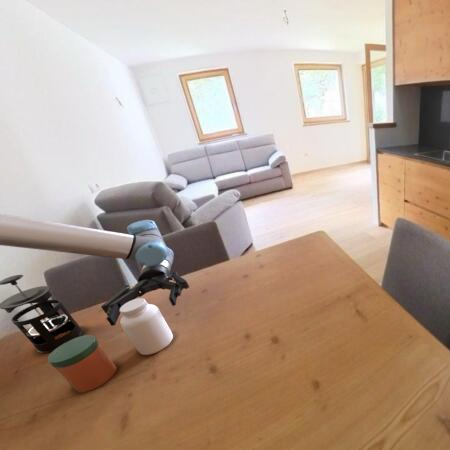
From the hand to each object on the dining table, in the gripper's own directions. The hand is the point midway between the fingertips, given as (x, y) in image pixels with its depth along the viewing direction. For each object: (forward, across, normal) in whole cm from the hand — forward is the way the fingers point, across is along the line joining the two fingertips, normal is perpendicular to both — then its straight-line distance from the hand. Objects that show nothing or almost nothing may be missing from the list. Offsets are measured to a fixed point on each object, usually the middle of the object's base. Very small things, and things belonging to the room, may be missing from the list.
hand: (142, 311), depth 78 cm
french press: (-16, +25, -10) cm, 32 cm away
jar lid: (+8, +12, 0) cm, 14 cm away
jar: (+8, +12, -10) cm, 17 cm away
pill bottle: (+3, 0, -10) cm, 11 cm away
